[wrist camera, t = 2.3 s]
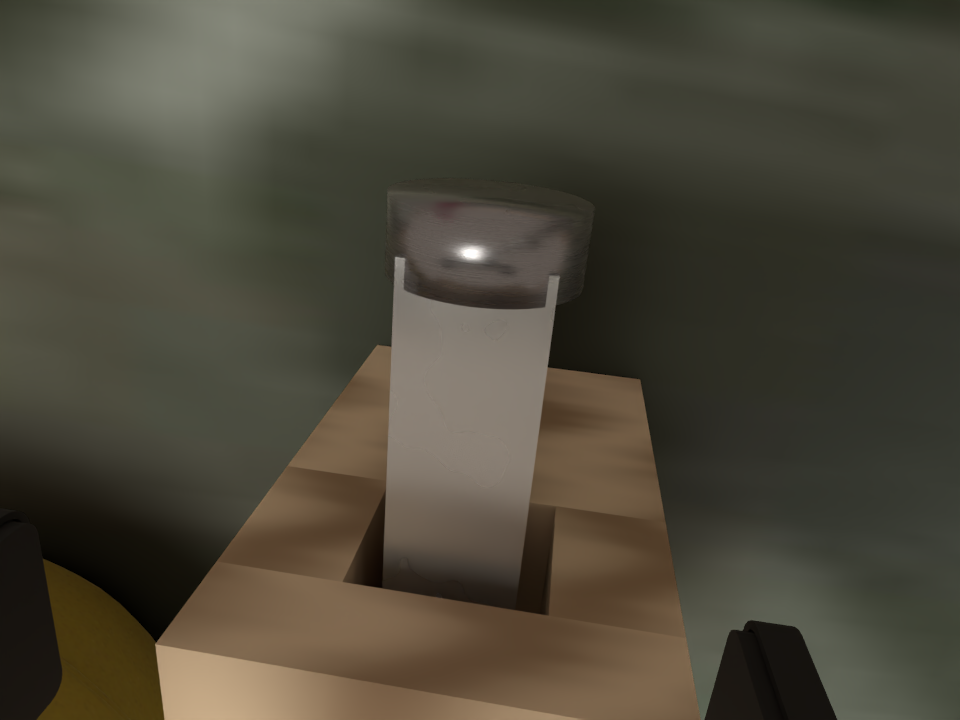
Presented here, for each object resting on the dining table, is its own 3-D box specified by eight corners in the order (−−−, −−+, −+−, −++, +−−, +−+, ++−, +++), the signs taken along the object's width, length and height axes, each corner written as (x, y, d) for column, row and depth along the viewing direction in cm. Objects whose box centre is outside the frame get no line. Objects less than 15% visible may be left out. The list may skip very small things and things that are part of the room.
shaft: (593, 191, 15) (596, 230, 12) (489, 902, 25) (474, 1044, 22) (413, 171, 16) (362, 204, 12) (379, 880, 26) (345, 1016, 22)
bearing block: (640, 379, 26) (704, 740, 12) (606, 554, 30) (627, 1002, 15) (377, 344, 27) (155, 644, 13) (371, 518, 30) (188, 909, 16)
